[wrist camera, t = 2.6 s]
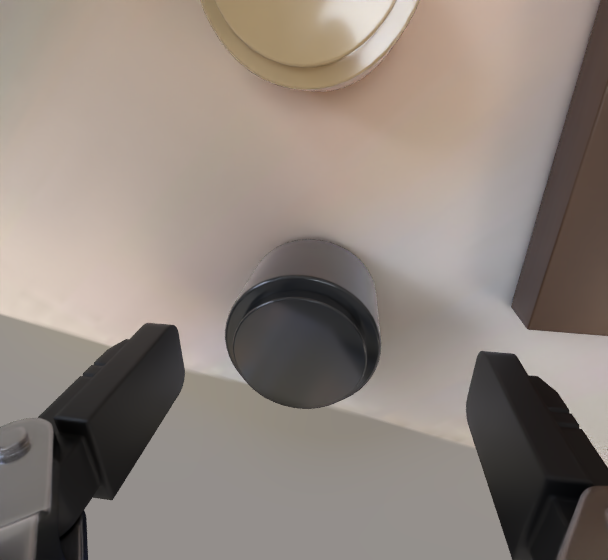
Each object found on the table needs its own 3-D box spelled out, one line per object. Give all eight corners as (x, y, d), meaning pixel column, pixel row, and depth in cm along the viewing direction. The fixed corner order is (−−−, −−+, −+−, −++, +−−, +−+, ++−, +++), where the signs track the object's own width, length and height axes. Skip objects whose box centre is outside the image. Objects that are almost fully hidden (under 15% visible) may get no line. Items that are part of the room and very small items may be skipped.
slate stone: (255, 338, 15) (224, 410, 12) (250, 229, 13) (211, 278, 10) (369, 348, 15) (373, 427, 11) (382, 237, 13) (391, 290, 9)
